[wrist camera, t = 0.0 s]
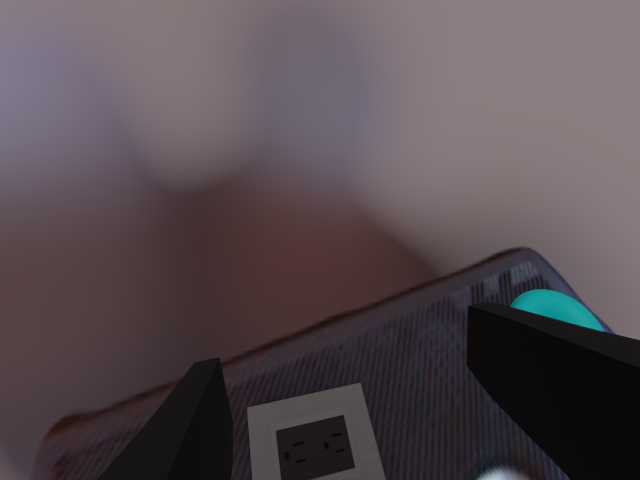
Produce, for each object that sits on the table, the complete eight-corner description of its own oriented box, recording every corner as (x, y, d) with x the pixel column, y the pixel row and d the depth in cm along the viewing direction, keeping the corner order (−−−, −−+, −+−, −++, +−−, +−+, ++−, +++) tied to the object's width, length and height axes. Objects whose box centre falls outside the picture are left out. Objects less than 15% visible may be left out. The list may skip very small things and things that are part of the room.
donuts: (584, 284, 37) (637, 375, 31) (532, 316, 45) (566, 393, 40) (502, 285, 36) (541, 379, 31) (465, 318, 44) (490, 396, 39)
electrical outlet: (258, 529, 31) (255, 533, 29) (249, 410, 37) (246, 407, 35) (384, 492, 33) (390, 494, 31) (357, 386, 39) (360, 382, 37)
